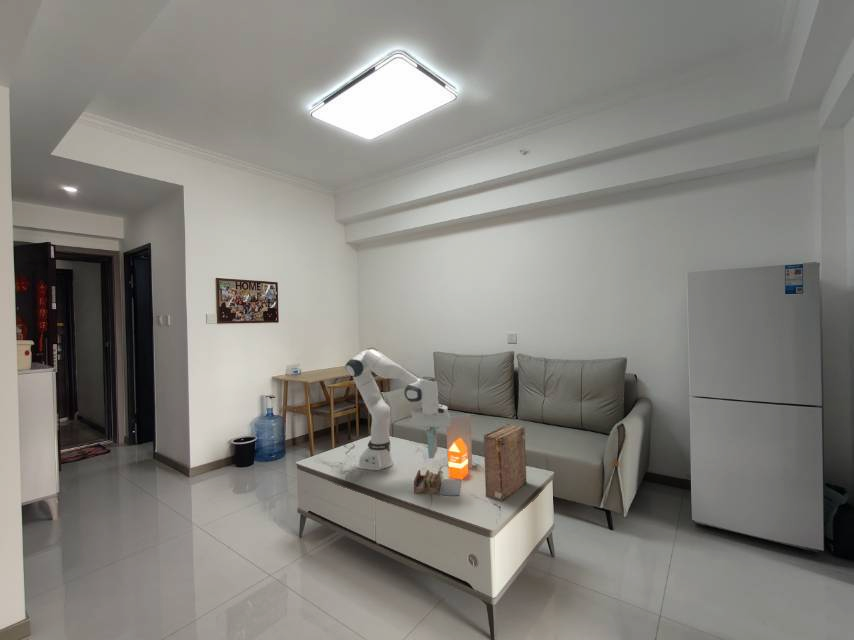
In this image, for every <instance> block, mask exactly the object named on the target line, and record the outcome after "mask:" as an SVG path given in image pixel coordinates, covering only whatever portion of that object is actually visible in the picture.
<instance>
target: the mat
mask: <svg viewBox="0 0 854 640" xmlns="http://www.w3.org/2000/svg"><path fill="white" fill-rule="evenodd" d="M461 485H462V479H456V478H451V479H450V478H449V479H448V478H443V479H442V480H441V483H440V487H439V491H438V496H440V495H441V496H442V497H443V496H444V497H459V496H460V493H461Z"/></svg>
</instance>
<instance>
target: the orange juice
mask: <svg viewBox="0 0 854 640" xmlns="http://www.w3.org/2000/svg"><path fill="white" fill-rule="evenodd" d="M448 460H449V468H448V478H451V477H452V478H451V479H457V480H463V479H465V477H466V476H467V475H468V474H469V468H468V458H467V447H466V446H465V444H464V442H463V441H462V439H461V438H459V439H458V440H456V441H455V442H454V443H453V444H452V446H451V447H450V449H449V450H448V456H447V461H448Z"/></svg>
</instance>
